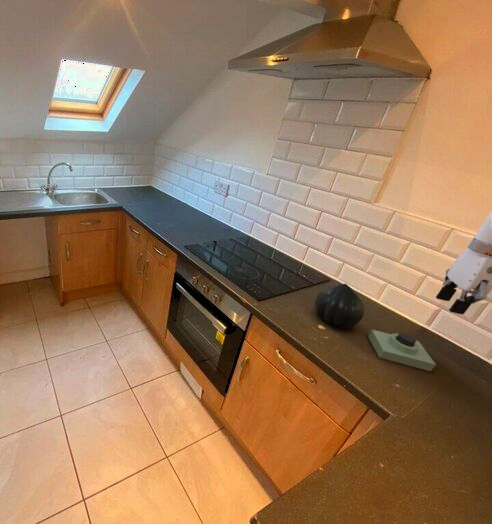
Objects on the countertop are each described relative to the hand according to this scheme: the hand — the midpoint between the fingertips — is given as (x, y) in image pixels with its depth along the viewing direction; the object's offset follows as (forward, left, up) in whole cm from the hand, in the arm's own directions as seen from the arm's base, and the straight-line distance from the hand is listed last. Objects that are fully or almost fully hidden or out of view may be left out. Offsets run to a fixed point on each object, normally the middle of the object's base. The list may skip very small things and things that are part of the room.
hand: (449, 305), depth 85 cm
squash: (+22, -9, -22) cm, 32 cm away
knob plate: (+3, -2, -22) cm, 22 cm away
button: (+3, -2, -17) cm, 17 cm away
